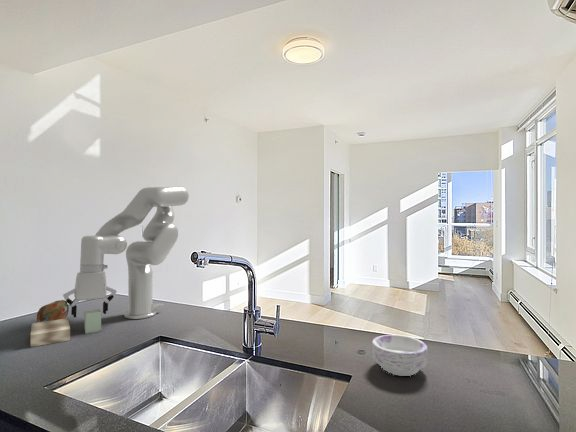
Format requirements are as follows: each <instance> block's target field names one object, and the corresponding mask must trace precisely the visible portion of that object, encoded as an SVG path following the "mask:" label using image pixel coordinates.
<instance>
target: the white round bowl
mask: <svg viewBox="0 0 576 432" xmlns="http://www.w3.org/2000/svg"><path fill="white" fill-rule="evenodd" d="M371 351H372V352H371V358H372V360H373V361H374V362H375V363H377V364H378V365H379V366H381V367H380V368H381V369H382V368H383V369H384V370H386V371H388V372H391V373H394V374H401V375H409V374H415V373H417V372H418V373H419V371H420V370H422V369H424V368H426V367H427V365H428V352H429V351H428V345H427V344H426V343H425V342H423V341H422V340H421V339H418V338H416V337H411V336H408V335H407V336H406V335H401V334H384V335H380V336H379V335H378V336H376V337H374V338H373V339H372V342H371ZM383 369H382V370H383ZM384 370H383V371H384ZM418 373H417V374H418ZM415 375H416V374H415Z"/></svg>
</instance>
